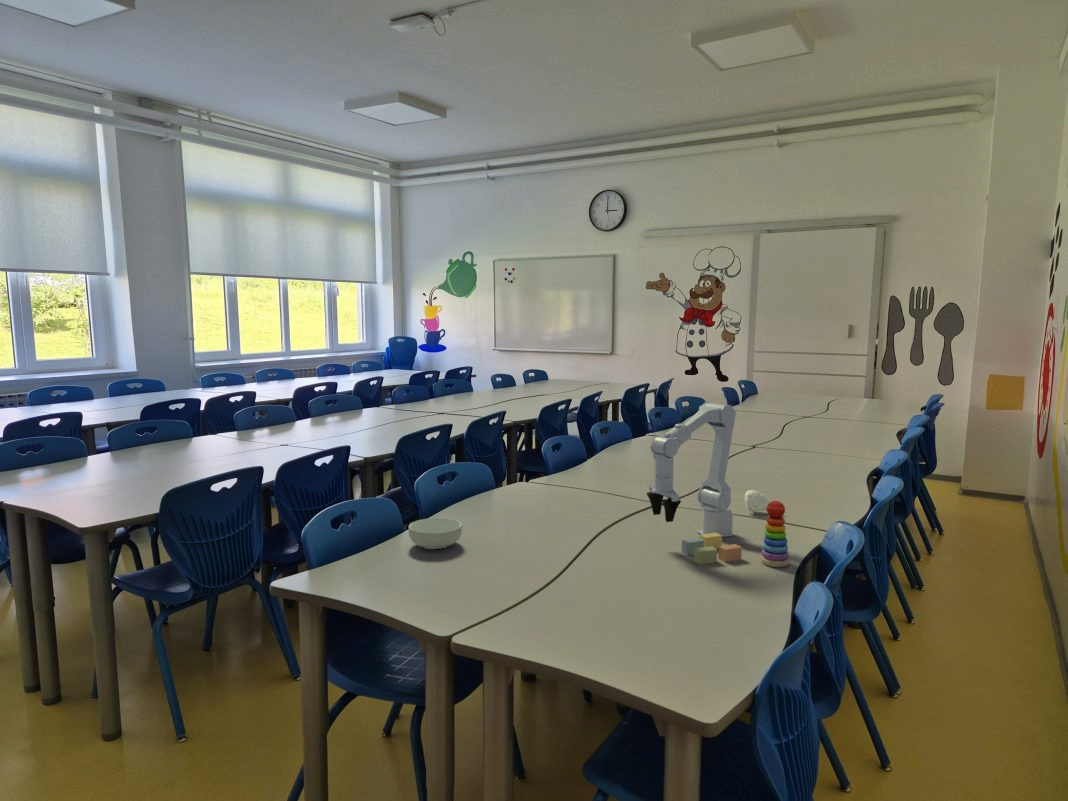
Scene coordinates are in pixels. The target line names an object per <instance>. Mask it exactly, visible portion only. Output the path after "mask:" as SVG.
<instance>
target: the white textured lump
mask: <svg viewBox="0 0 1068 801" xmlns="http://www.w3.org/2000/svg"><path fill="white" fill-rule="evenodd" d="M770 502H772V500H771V501H770V500H769V499H768V498H767V497H766V496H765V495H764V494H762V493H760V491H757V490H754V489H750V490H747V491H746V492H745V494H744V505H745V508H746V511H747V512H748V513H749V514H750V515H751V516H754V515H755V513H756V512H760V511H767V505H768V504H769V503H770ZM754 512H755V513H754Z"/></svg>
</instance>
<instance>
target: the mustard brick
mask: <svg viewBox="0 0 1068 801" xmlns="http://www.w3.org/2000/svg"><path fill="white" fill-rule="evenodd" d="M699 538H700V539H702V540H704V547H709V546H712V547H714V548H715V549H719V546H723V545H722V544H723V543H722V539H723V537H722V535H720V534H718V533H710V534H703V535H702V534H700V535H699Z"/></svg>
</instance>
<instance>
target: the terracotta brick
mask: <svg viewBox="0 0 1068 801" xmlns="http://www.w3.org/2000/svg"><path fill="white" fill-rule="evenodd" d="M742 548H743V546H740V545H738V544H735V543H734V544H733V543H732V544H726V545H722V546H719V548H718V552H717V559H718V560H719V561H721V562H723V563H728V562H729V563H730V562H736V561H741V560H742Z"/></svg>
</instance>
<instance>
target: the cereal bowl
mask: <svg viewBox="0 0 1068 801" xmlns="http://www.w3.org/2000/svg"><path fill="white" fill-rule="evenodd" d="M462 530H463V524H462V522H461V521H459V520H457V519H453V518H447V517H430V518H423V519H419V520H416V521H412V522H410V523H409V525H408V536H409V538H410V540H411V541H412V543H413V544H415V545H417V546H419V547H422V548H423V547H424V548H423V549H425V548H427V549H441V548H444V547H446V548H448V547H450V546H452V545H453V544H455V543H456V542H458V540H460V538H461V537H462V536H461V535H462V532H463V531H462ZM447 546H448V547H447ZM427 549H426V550H427ZM444 549H445V548H444ZM441 550H442V549H441Z"/></svg>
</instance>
